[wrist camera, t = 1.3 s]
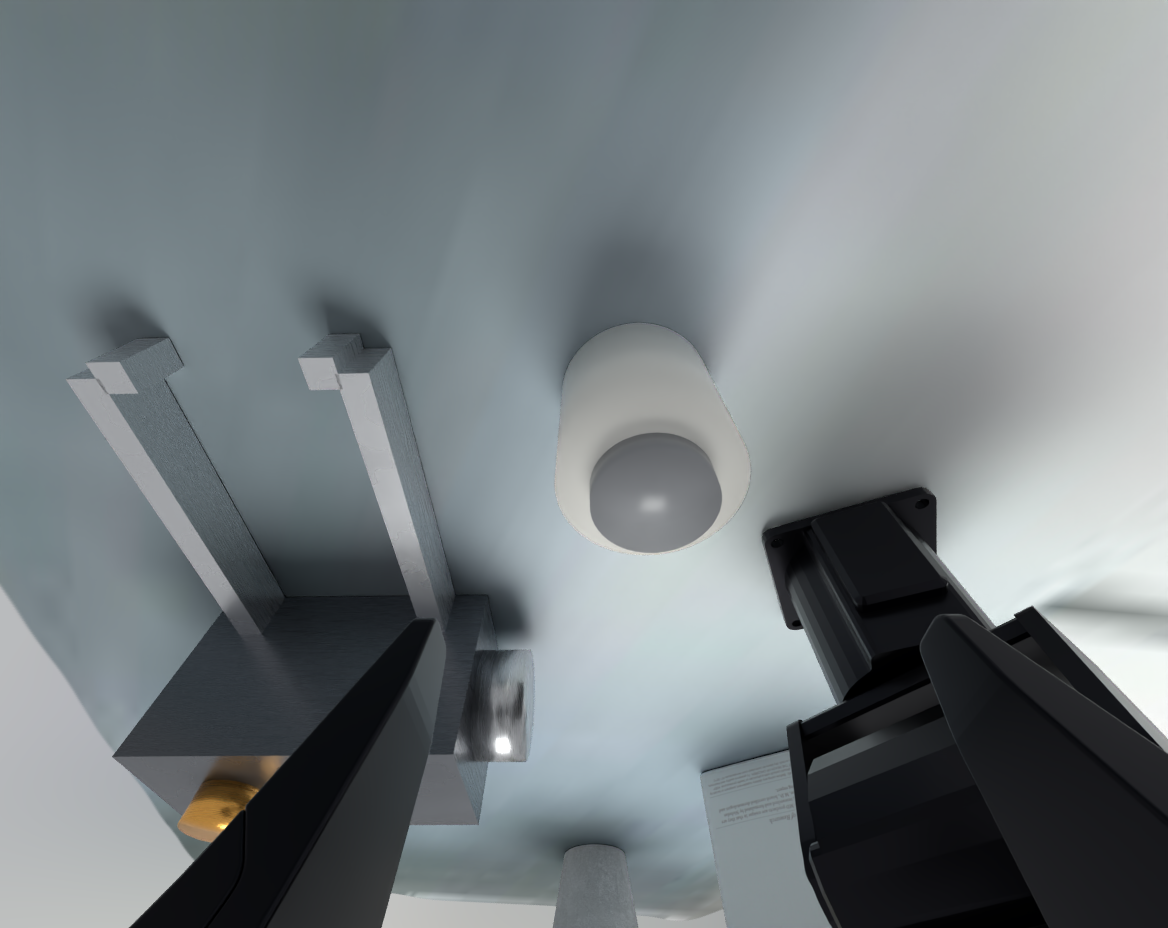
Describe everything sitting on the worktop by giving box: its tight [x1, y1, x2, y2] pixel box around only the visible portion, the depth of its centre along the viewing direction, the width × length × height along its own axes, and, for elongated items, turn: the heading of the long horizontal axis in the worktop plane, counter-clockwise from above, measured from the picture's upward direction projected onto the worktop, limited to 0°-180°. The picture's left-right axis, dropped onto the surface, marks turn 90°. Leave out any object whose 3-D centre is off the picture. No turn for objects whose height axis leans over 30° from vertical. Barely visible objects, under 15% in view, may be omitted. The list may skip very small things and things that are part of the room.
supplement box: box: [700, 750, 832, 928], centre depth 28 cm, size 7×7×13 cm
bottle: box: [555, 323, 751, 555], centre depth 14 cm, size 5×5×6 cm
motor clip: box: [66, 334, 535, 842], centre depth 17 cm, size 14×18×8 cm
